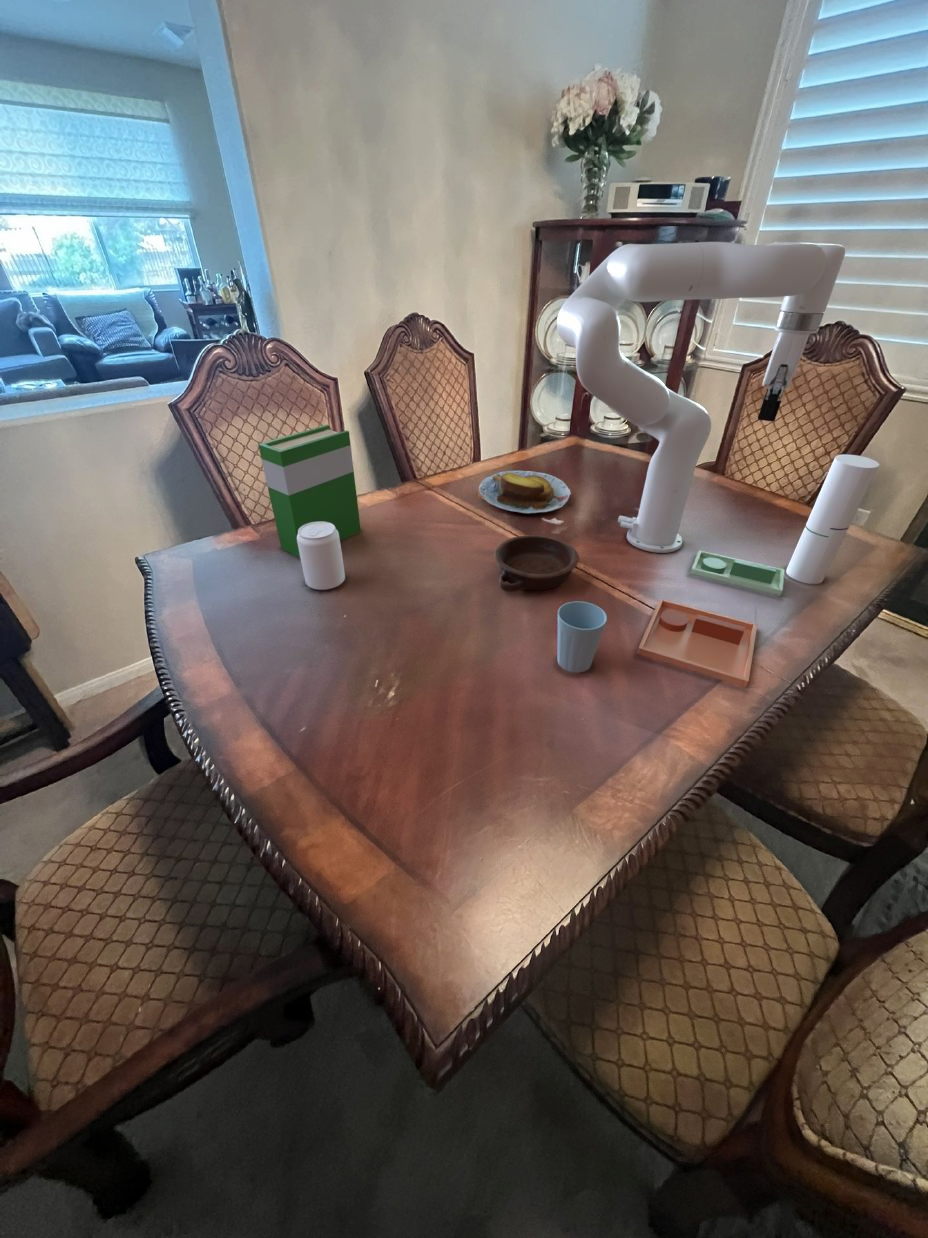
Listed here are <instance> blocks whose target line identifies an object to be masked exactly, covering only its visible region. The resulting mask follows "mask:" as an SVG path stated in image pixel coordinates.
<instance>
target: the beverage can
mask: <svg viewBox="0 0 928 1238" xmlns="http://www.w3.org/2000/svg"><path fill="white" fill-rule="evenodd" d="M297 543H298V548H299V553H300V558H301V559H300V558H299V559H300V562H301V566H302V572H303V577H304V582H305V585H307V586H308V587H309V588H311V589H313V590H319V591H321V590H322V591H323V590H324V591H325V590H330V589H331V590H332V589H334V588H336V587H339V586H340V585H341V584H343V582H344V581H345V580H346V573H345V566H344V560H343V559H344V558H343V552H342V547H341V545H342V544H341V541H340V538H339V533H338V531H337V530H336V529H335V526H334V525H333V524H331V523H329V522H322V521H319V522H311V523H308V524H305V525H303V526H301V527H300V528H299V530H298V535H297Z"/></svg>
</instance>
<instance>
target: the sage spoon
mask: <svg viewBox="0 0 928 1238" xmlns="http://www.w3.org/2000/svg"><path fill="white" fill-rule="evenodd" d="M737 559H738V558H736V559H735V560H734V563H733V565H732V568H731V571H730V575H735V576H739V577H743V578H747V579H752V580H756V581H760V582H764V583H768V584H771V583H772V581H773V578H774V576H775V573H776V569H777V568H778V567H776V568H773V567H774V566H771V567H768V566H769V565H767V566H764V565H765V564H762V565H759V564H760V563H758V564H755V563H756V562H754V563H751V562H752V561H749V562H746V561H747V560H745V561H742V560H743V559H740V560H737ZM726 566H727V565H726V563H725V562H724V561H722V560H720V559H717V558H705V559H704V560H703V561H702V565H701V568H702V569H703V570H705V571H709V572H713V573H717V574H722V573H724V572H725V569H726Z"/></svg>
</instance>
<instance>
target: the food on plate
mask: <svg viewBox="0 0 928 1238" xmlns="http://www.w3.org/2000/svg"><path fill="white" fill-rule="evenodd" d="M477 495H478V498H479V499H480V498H481V500H484V502H486V503H487V504H489V505H491V506H493V507H496V508H497V509H502V511H503V510H505V511H510V512H513V513H514V512H517V513H521V514H537V513H548V512H553V511H555V510H558V509H559V510H560V509H561V508H563V507H564V505H565V504H566V503H567V502H568V500H569V498H570V495H572V490H571V489H570V487H568V485H567V484H566V482H564V481H563V480H562V479H560V478H558V477H557V476H554V475H551V474H548V473H544V472H540V471H539V472H537V471H533V470H520V469H519V470H505V471H499V472H497V473H492V474H491V475H489V476H486V477H485V478H484V479H483V480H482V481H480V483H479V484H478V486H477Z"/></svg>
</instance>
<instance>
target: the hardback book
mask: <svg viewBox="0 0 928 1238" xmlns="http://www.w3.org/2000/svg"><path fill="white" fill-rule="evenodd" d="M257 446H258V450H259V454H260V459H261V464H262V468H263V473H264V478H265V482H266V486H267V491H268V496H269V499H270V504H271V508H272V513H273V516H274V517H273V519H274V522H275V526H276V531H277V535H278V539H279V544H280V549H281V550H283V551H284V552H286V553H289V554H291V555H293V556H295V557H296V558H299V559H300V560H301V558H300V553H299V548H298V543H297V535H298V530H299V528H300V527H301V526H303V525H305V524H308V523H311V522H319V521H322V522H329V523H331V524H333V525H334V526H335V529H336V530H337V531H338V533H339V538H340V542H341V541H342V540H345V539H347V538H350V537H352V536H354V535H356V534H359V533H360V532H362V528H361V520H360V513H359V511H360V510H359V503H358V494H357V486H356V478H355V469H354V462H353V453H352V445H351V436H350V431H349V430H343V431H339V432H338V431H335V430H332V429H331V425H330V424H324V425H321V426H317V427H313V428H311V429H307V430H303V431H300V432H296V433H292V434H289V435H286V436H282V437H279V438H275V439H272V440H268V441H265V442H261V443H258V444H257Z"/></svg>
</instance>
